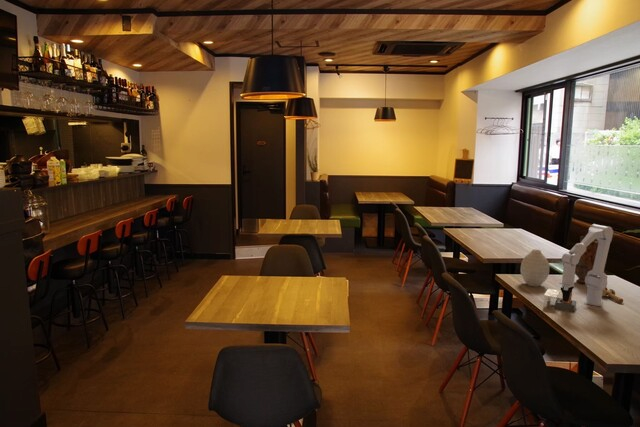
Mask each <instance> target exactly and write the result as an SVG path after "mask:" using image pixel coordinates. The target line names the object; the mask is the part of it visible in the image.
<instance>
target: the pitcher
mask: <svg viewBox="0 0 640 427" xmlns="http://www.w3.org/2000/svg"><path fill="white" fill-rule="evenodd" d="M585 237H586V235H581V236H579V238H580V242H579V243H581V242H582V240H583V239H584V238H585ZM598 244H599V242H598V240H597V239H595V240H594V241H593V242H591V243H590V244H589V245H588V246H587V247H586V251H585V252H584V253H583V254H582V256H581V257H580V259H579V262H578V264H577V265H576V268H575V276H576V277H577V278H578V279H576V280H575V282H576V283H577V284H579V285H583V286H587V285H586V284H585V278H586V276H587V274H588V272H589V271H591V270H593V266H594V261H595V257H596V252H597V248H598ZM594 276H596V275H594Z"/></svg>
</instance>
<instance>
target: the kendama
mask: <svg viewBox="0 0 640 427" xmlns="http://www.w3.org/2000/svg"><path fill="white" fill-rule="evenodd" d="M606 296H607V297H608V298H610V297H611V299H613V301H615V302H617V303H618V304H623V303H624V299H623V298H621V297H619V296H618V295H616V291H615V290H614V289H611V288H610V289H608V286H606V288H605V289H604V290H603V292H602V297H606Z"/></svg>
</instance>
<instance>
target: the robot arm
mask: <svg viewBox="0 0 640 427" xmlns="http://www.w3.org/2000/svg"><path fill="white" fill-rule="evenodd" d="M613 235H614V230H613V227H611V226H607V225H602V224H601V225H600V224H596V223H593V224H591V225H590V227H589V228H588V232H587V234H585V236H586V237H585V238H584V239H583V240H582V242H581V243H580V242H578V243H575V245H574V246H573V247H572V248H571V249H569V251H568V252H565V253H563V254H562V257H561V262H562V266H563V268H562V275H561V276H562V278H561V281H559V282H558V284H560V285H561V287H560V292H561V294H562V296H563V301H566V302H568V299H569V296H570V293H571V292H572V293H573V290H574V288H575V277H576V274H575V268H576V265H577V264H578V262H579V259H580V257H581V256H582V254H583V253H584V252H585V251H586V247H587V246H588V245H589V244H590V243H591V242H593V241H594V240H595V239H597V240H598V242H599V244H598V248H597V252H596V257H595V261H594V266H593V270H591V271H589V272H588V274H587V276H586V278H585V284H586V285H585V286H586V287H587V290H586V299H585V300H584V301H585V302H584V304H586V305H590V306H597V307H602V306H603V301H602V300H603V299H602V298H603V296H602V292H603V290H604V289H605V288H606V287H608V275H607V274H606V273H605V267H606V264H607V258H608V255H609V254H608V253H609V249H610V244H611V242H612V240H613V237H614V236H613ZM594 275H596V276H594Z"/></svg>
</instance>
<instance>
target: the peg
mask: <svg viewBox="0 0 640 427" xmlns="http://www.w3.org/2000/svg"><path fill="white" fill-rule="evenodd" d="M561 298H562V303H568V304H571V300H572V298H573V291H572V292H571V293H570V296H569V299H568V302H566V301H563V295H562V297H561Z"/></svg>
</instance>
